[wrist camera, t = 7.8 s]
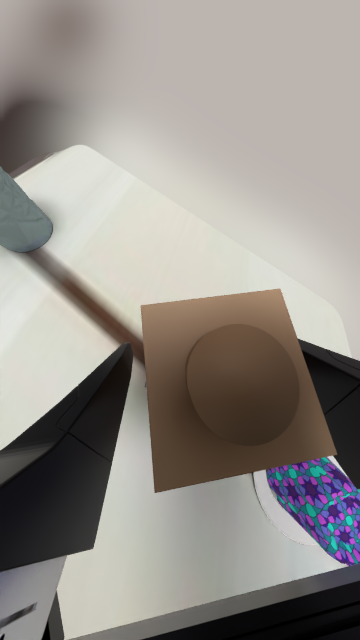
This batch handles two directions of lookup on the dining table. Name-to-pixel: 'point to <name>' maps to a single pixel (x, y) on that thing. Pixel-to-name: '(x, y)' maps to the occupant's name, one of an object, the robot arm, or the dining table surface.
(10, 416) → the dining table surface
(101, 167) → the dining table surface
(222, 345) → the column
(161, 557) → the dining table surface
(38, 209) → the green cup
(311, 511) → the purple patterned hat
